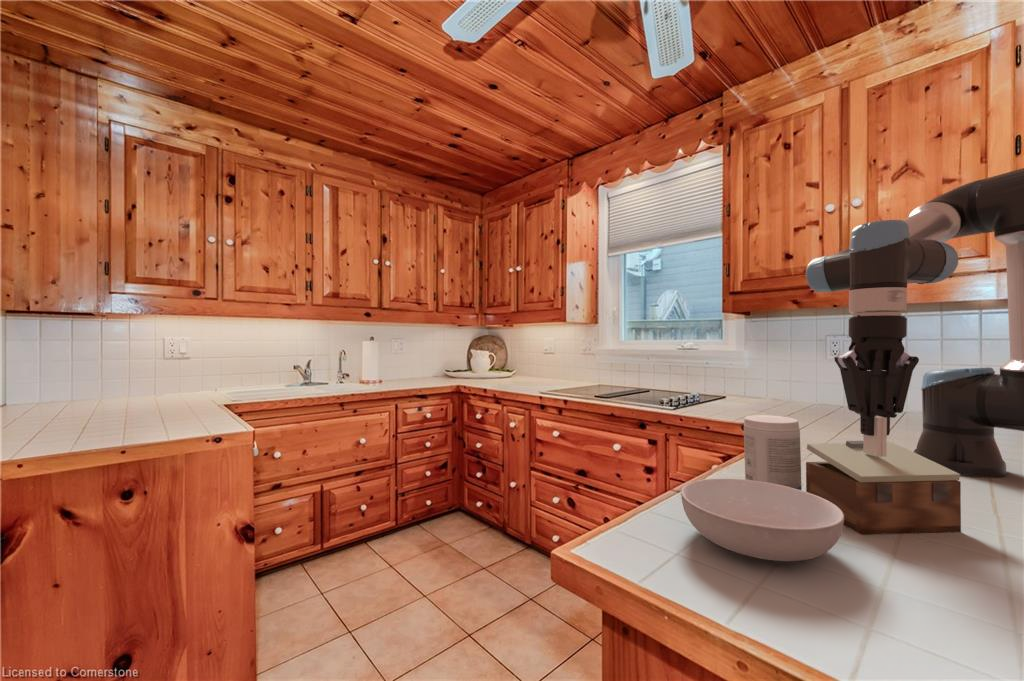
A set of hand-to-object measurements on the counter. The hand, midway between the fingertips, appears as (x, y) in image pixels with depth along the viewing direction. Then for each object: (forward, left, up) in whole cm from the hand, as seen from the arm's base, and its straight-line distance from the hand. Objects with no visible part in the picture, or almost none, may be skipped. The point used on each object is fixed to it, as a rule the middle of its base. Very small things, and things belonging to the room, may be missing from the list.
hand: (874, 454), depth 74 cm
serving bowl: (+26, +8, -11) cm, 29 cm away
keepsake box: (0, 0, -11) cm, 11 cm away
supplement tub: (+10, -13, -11) cm, 19 cm away
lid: (0, 0, -2) cm, 2 cm away
